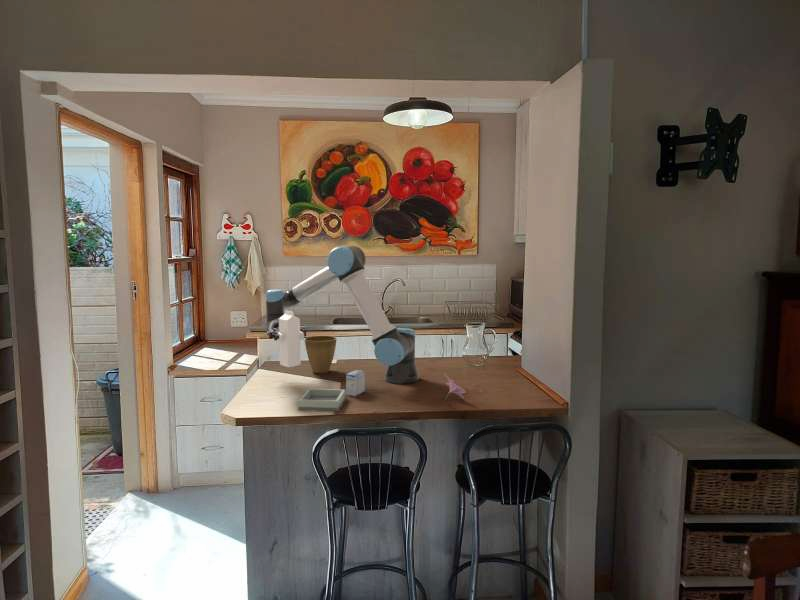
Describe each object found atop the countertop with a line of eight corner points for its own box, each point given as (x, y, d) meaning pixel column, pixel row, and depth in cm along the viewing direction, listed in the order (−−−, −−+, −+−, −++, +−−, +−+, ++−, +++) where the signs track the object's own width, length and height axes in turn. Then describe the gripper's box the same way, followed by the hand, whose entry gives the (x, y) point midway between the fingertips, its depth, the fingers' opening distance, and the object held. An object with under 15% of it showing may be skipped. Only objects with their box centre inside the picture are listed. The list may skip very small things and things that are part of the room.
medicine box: (355, 389, 211) (355, 369, 210) (365, 391, 210) (365, 370, 208) (346, 395, 204) (345, 374, 203) (355, 396, 202) (355, 375, 201)
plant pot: (340, 373, 236) (340, 339, 234) (309, 377, 231) (308, 342, 229) (332, 366, 250) (331, 334, 248) (302, 369, 244) (301, 336, 242)
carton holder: (345, 398, 200) (345, 389, 199) (338, 411, 185) (338, 401, 185) (308, 397, 201) (308, 388, 200) (298, 410, 186) (298, 400, 186)
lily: (464, 408, 191) (474, 385, 193) (436, 396, 192) (445, 372, 194) (459, 408, 203) (468, 385, 205) (432, 396, 204) (441, 374, 205)
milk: (292, 362, 209) (291, 309, 206) (301, 365, 205) (300, 310, 202) (279, 365, 204) (278, 310, 202) (288, 367, 200) (287, 312, 198)
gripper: (303, 335, 224) (318, 344, 203) (256, 338, 215) (266, 349, 195) (303, 318, 223) (317, 326, 203) (255, 321, 214) (265, 330, 194)
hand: (292, 337), depth 199 cm, fingers closed on milk, 8 cm apart
